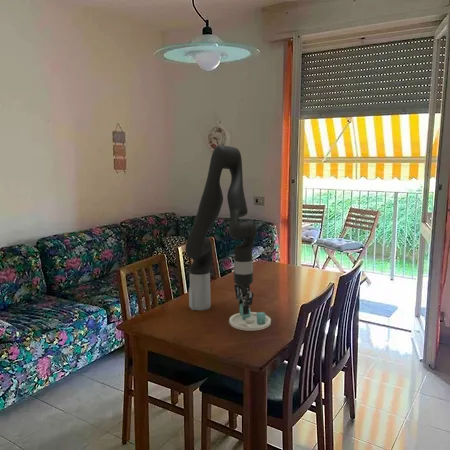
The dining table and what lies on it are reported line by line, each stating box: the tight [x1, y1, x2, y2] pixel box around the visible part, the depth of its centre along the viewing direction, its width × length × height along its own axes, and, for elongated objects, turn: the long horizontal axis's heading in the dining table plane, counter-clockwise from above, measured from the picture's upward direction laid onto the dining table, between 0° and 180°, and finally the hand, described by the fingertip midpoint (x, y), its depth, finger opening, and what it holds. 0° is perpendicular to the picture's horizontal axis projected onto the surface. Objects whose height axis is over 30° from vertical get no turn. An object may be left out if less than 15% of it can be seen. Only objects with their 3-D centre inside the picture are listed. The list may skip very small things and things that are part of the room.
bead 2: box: [242, 307, 251, 320], centre depth 180 cm, size 4×4×4 cm
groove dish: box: [228, 311, 272, 332], centre depth 176 cm, size 17×17×2 cm
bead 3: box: [256, 311, 266, 325], centre depth 175 cm, size 4×4×4 cm
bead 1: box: [239, 303, 248, 316], centre depth 172 cm, size 4×4×4 cm
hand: (243, 312), depth 172 cm, fingers closed on bead 1, 3 cm apart
